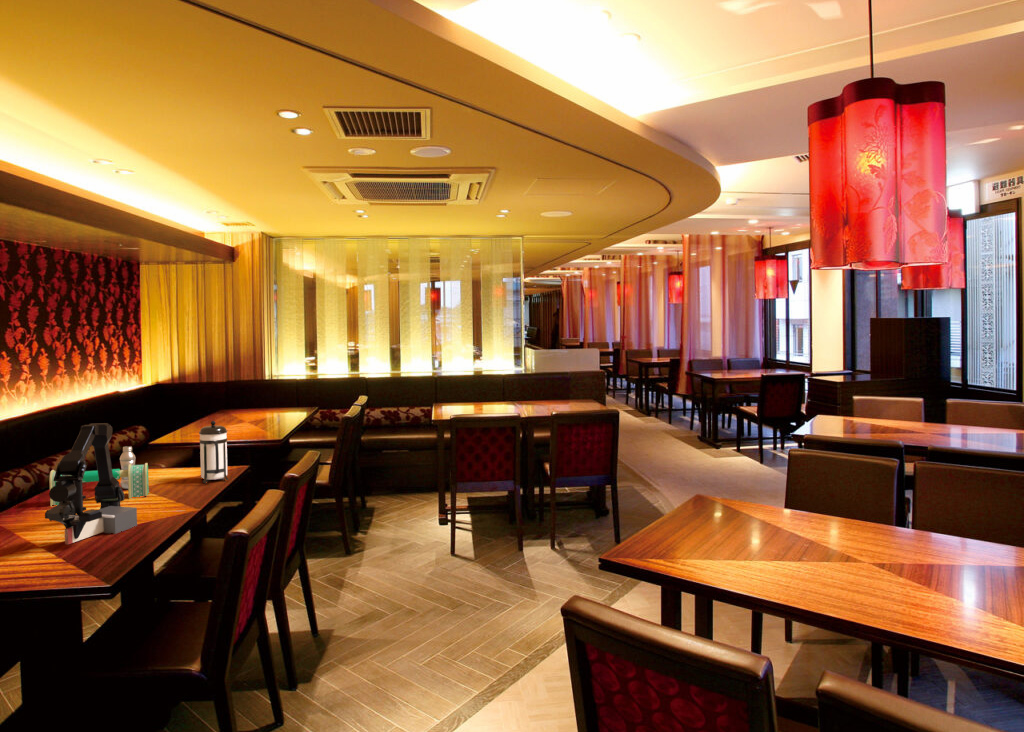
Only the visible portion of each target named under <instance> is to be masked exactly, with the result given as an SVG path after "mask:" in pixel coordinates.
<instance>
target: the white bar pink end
mask: <svg viewBox="0 0 1024 732" xmlns="http://www.w3.org/2000/svg"><path fill="white" fill-rule="evenodd" d="M101 533H104V517H102V518H99V519H96V520H93V521H90V522H86V524H85V525H84V527H83V529H82V531H81V533H80V535H79V537H78V538H77V539H75V538H74V531H73V527H70V528H67V529H66V528H64V545H71V544H73V543H75V542H79V541H82V540H84V539H87V538H90V537H92V536H95V535H98V534H101Z"/></svg>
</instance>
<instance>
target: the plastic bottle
mask: <svg viewBox="0 0 1024 732" xmlns="http://www.w3.org/2000/svg"><path fill="white" fill-rule="evenodd" d="M119 463H120V467H121V469H120V470H128V466H129V464H131V465H136V455H135V454H134V452H133V447H132V446H131V445H127V446H123V447H122V453H121V455H120V457H119ZM120 487H121V489H122V490H123V489H124V490H128V477H122V478H120Z"/></svg>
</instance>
